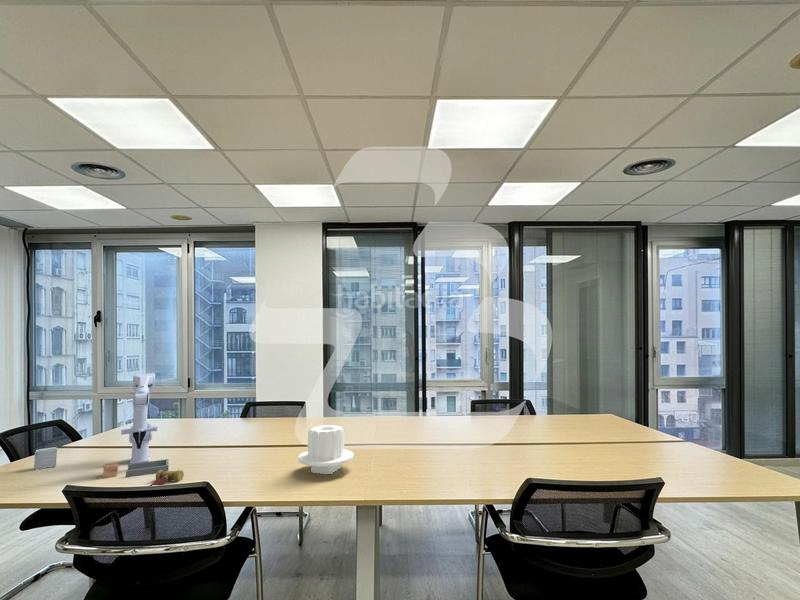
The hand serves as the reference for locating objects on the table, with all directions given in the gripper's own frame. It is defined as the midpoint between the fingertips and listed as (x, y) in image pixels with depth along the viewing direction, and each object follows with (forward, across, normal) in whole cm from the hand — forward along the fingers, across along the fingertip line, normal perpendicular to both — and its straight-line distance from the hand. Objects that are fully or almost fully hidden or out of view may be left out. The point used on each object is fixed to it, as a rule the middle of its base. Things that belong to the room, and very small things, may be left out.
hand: (138, 448), depth 198 cm
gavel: (+10, +9, -33) cm, 35 cm away
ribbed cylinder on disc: (+10, +76, -47) cm, 90 cm away
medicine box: (+10, -39, +25) cm, 47 cm away
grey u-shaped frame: (+9, +4, -5) cm, 11 cm away
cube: (+10, -10, -5) cm, 15 cm away
